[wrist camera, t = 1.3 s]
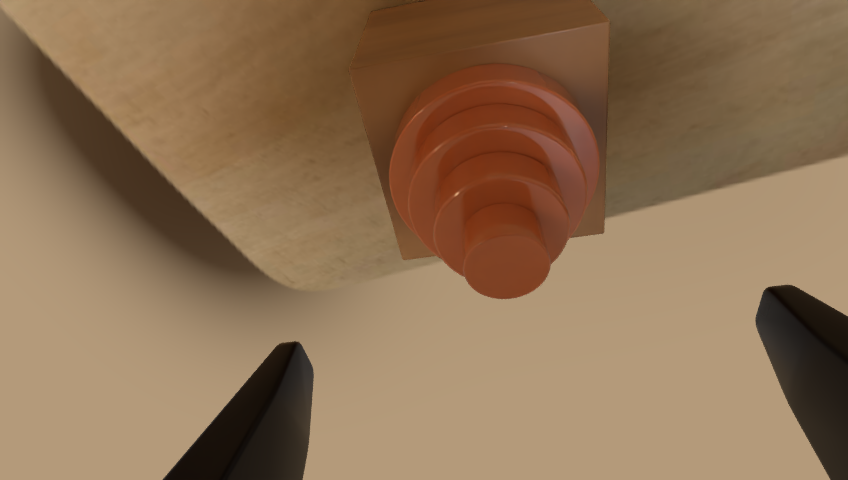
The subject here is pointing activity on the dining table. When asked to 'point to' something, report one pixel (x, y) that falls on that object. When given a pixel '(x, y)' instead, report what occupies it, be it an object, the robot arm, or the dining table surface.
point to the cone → (494, 174)
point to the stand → (470, 46)
